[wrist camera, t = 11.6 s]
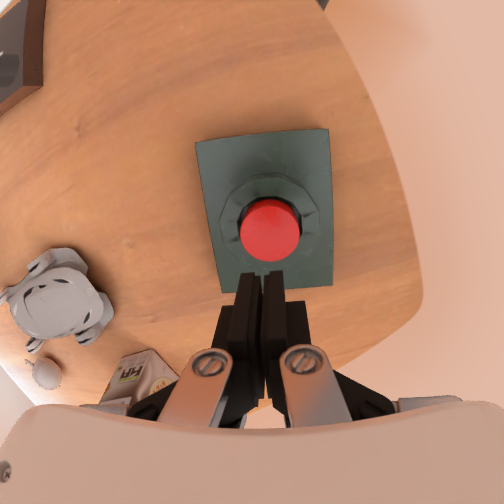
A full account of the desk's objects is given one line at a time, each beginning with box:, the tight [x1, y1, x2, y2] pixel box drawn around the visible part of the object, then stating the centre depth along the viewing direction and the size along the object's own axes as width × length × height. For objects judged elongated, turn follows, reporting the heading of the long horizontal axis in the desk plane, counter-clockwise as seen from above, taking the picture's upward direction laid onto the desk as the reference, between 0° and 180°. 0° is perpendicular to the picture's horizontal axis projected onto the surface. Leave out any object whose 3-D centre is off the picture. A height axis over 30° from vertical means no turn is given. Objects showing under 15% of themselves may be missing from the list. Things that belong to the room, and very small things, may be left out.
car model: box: [0, 248, 114, 354], centre depth 26 cm, size 11×24×5 cm, turn 114°
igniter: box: [195, 128, 333, 293], centre depth 20 cm, size 12×9×4 cm
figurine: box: [25, 358, 62, 390], centre depth 34 cm, size 8×5×12 cm
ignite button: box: [240, 199, 300, 261], centre depth 18 cm, size 4×4×2 cm
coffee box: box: [99, 349, 179, 407], centre depth 25 cm, size 9×6×16 cm
